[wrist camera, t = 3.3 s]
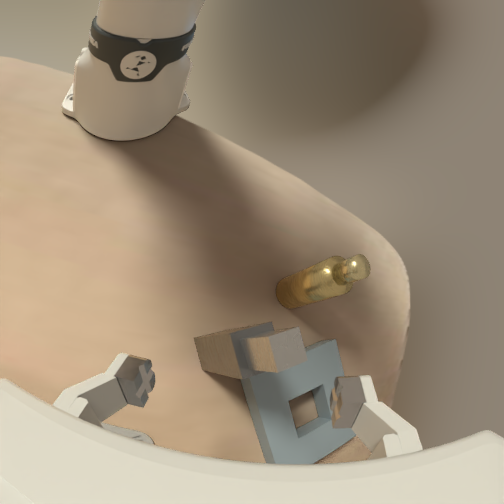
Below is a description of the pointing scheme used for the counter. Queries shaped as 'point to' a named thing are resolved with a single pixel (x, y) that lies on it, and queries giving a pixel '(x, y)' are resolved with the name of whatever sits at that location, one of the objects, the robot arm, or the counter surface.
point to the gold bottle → (322, 281)
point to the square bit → (251, 350)
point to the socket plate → (279, 413)
